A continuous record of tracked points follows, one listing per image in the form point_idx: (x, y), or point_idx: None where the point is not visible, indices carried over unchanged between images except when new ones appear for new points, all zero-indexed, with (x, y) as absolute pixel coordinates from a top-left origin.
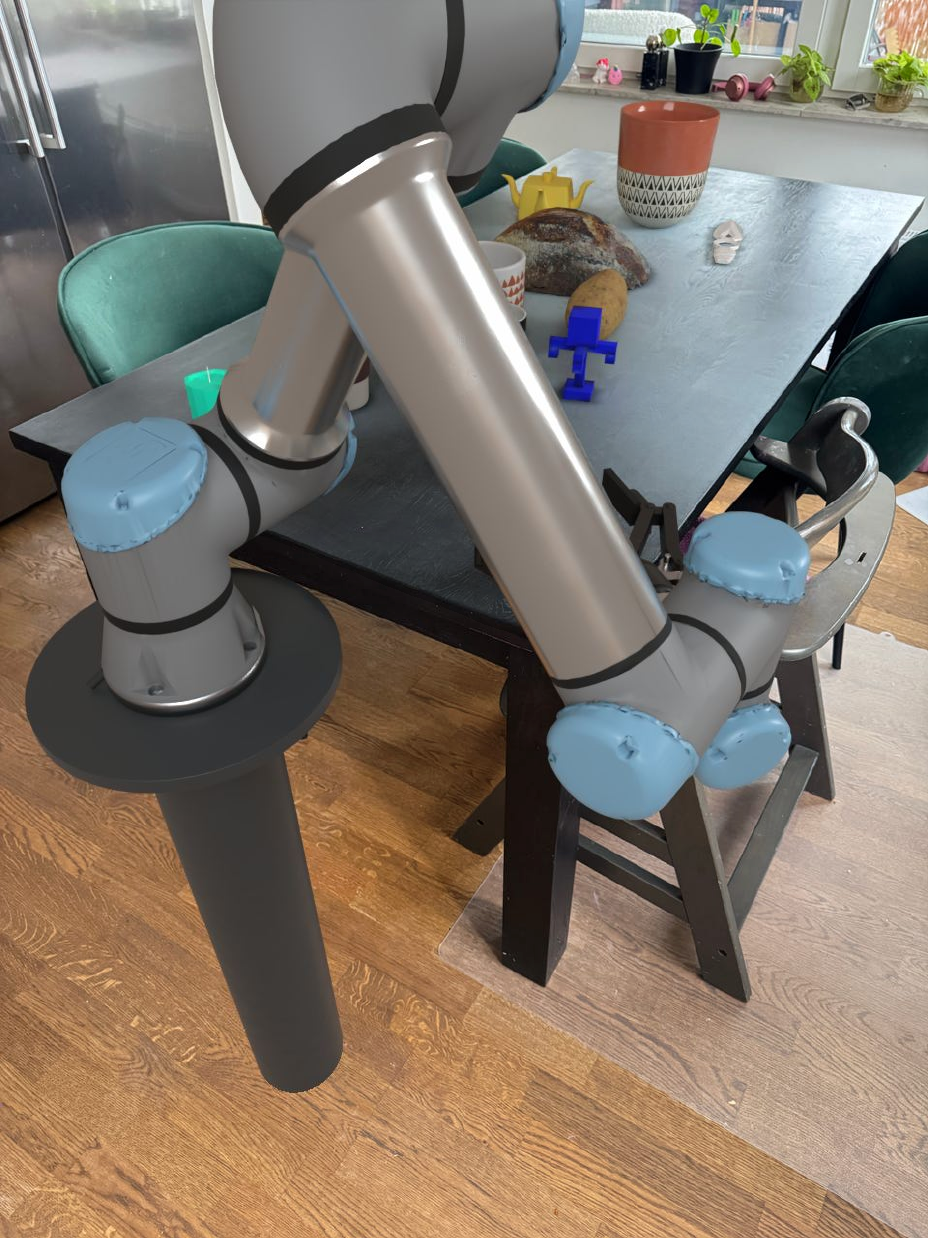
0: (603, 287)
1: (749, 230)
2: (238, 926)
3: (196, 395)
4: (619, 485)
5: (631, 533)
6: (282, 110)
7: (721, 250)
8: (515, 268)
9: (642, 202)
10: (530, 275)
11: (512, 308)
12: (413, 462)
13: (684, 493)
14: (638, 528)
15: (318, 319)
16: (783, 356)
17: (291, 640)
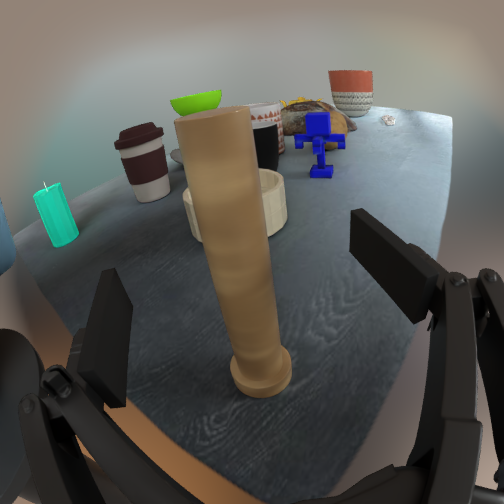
0: (330, 117)
1: (396, 118)
2: None
3: (35, 201)
4: (386, 238)
5: (445, 385)
6: None
7: (388, 121)
8: (272, 107)
9: (346, 104)
10: (291, 127)
11: (268, 123)
12: (175, 232)
13: (426, 244)
14: (458, 360)
15: None
16: (441, 156)
17: (5, 417)
